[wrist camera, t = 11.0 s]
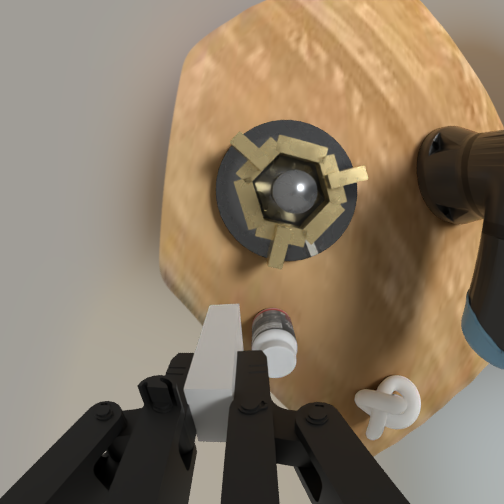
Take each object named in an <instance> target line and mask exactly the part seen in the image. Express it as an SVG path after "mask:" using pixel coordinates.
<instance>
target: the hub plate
mask: <svg viewBox="0 0 504 504" xmlns="http://www.w3.org/2000/svg"><path fill="white" fill-rule="evenodd" d="M243 135H244V136H246V137H247V138H248V139H249V140H250V141H251V142H252V143H254V144H255V145H256V146H257V147H258V148H260V147H261V146H262V145H263V144H264V143H265V142H266V141H267V140H268V139H269V138H270V137H272V138H273V139H274V140H275V141H277V138H278V136H279V135H283V136H287V137H291V138H295V139H299V140H302V141H306V142H309V143H313V144H316V145H320V146H323V147H327V148H328V151H327V155H326V156H328V155H332V154H334V156H335V159H336V162H337V166H338V169H339V171H340V170H344V169H348V168H352V167H353V166H352V164H351V161H350V159H349V157H348V156H347V154H346V152H345V151H344V149H343V148H342V147H341V146H340V144H339V143H338V142H337V141H336V140H335V139H334V138H333V137H331V136H330V135H329V134H327V133H326V132H325V131H323V130H321V129H319V128H318V127H315V126H313V125H311V124H308V123H304V122H301V121H294V120H278V121H271V122H268V123H264V124H261V125H259V126H256V127H254V128H252V129H251V130H249V131H247V132H246V133H244V134H243ZM247 161H248V160H247V159H246V158H244V157H243V156H242V155H241V154H240V153H239V152H238V151H237V150H235V149H234V148H233V147H232V146H231V147H230V149H229V150H228V151H227V153H226V155H225V156H224V158H223V160H222V163H221V165H220V168H219V171H218V175H217V182H216V199H217V204H218V208H219V212H220V215H221V217H222V219H223V221H224V223H225V225H226V227H227V228H228V230H229V231H230V233H231V234H232V235H233V236H234V237H235V239H236V240H237V241H238V242H240V243H241V244H242V245H243V246H244V247H246V248H247V249H249V250H250V251H252V252H254V253H256V254H258V255H260V256H263V257H265V258H266V257H267V253H268V249H269V245H270V241H271V240H270V239H266V238H261V237H257V236H255V229H256V228H255V229H251V230H248V226H247V223H246V220H245V217H244V214H243V210H242V207H241V204H240V201H239V198H238V194H237V191H236V188H235V185H234V181H237V180H241V178H240V177H239V176H238V175H237V174H236V172H237V171H238V170H239V169H240V168H241V167H242V166H243V165H244V164H245V163H246V162H247ZM290 170H301V171H304V172H306V173H307V174H309V175H310V176H311V177H312V178H313V179H314V181H315V183H316V186H317V199H316V201H315V203H314V205H313V206H312V207H311V208H310V209H309V210H307V211H306V212H303V213H300V214H292V213H288V212H286V211H284V210H283V209H281V208H280V207H279V206H278V205H277V204H276V203H275V202H274V201H273V199H272V197H271V193H270V187H271V184H272V182H273V180H274V179H275V178H276V177H277V176H278V175H279V174H281V173H284V172H287V171H290ZM252 182H253V185H254V189H255V192H256V195H257V198H258V202H259V205H260V208H261V212H262V215H263V218H268V219H272V220H276V221H280V222H284V223H288V224H293V225H297V226H300V225H301V224H302V223H303V222H304V221H305V220H306V219H307V218H308V217H309V216H310V215H311V213H312V212H313V211H314V210H315V209H316V208H317V207H318V206H319V205H320V204H321V203H322V202H323V201H324V196H323V192H322V189H321V185H320V181H319V178H318V174H317V171H316V168H315V164H312V163H308V162H304V161H301V160H297V159H293V158H289V157H285V156H281V155H278V156H277V157H276V158H275V159H274V160H273V161H272V162H271V163H270V164H269V165H268V166H267V167H266V168H265V169H264V170H263V171H262V172H261V173H260V174H259V175H258V176H257V177H256V178H255V179H254V180H253V181H252ZM343 188H344V192H345V196H346V199H347V202H345V203H341V204H340V205H341V206H342V207H343V208H344V209H345V210H344V212H343V213H342V214H341V215H340V216H339V217H338V218H337V219H336V220H335V221H334V222H333V223H332V224H331V225H330V226H329V227H328V228H327V229H326V230H325V231H324V232H323V233H322V235H321V236H320V237H319V238H318V239H317V240H316V241H315V242H314V243H313V244H312V245H311V244H310V243H309V242H308V241H307V240H305V243H304V247H300V246H295V245H291V244H288V248H287V251H286V255H285V259H284V261H296V260H302V259H306V258H309V257H312V256H314V255H317V254H319V253H321V252H323V251H324V250H326V249H327V248H329V247H330V246H331V245H332V244H334V243H335V242H336V241H337V240H338V239H339V238H340V237H341V235H342V234H343V233H344V231H345V230H346V228H347V227H348V225H349V223H350V221H351V219H352V216H353V214H354V210H355V206H356V201H357V182H356V183H352V184H348V185H344V186H343Z"/></svg>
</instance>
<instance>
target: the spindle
mask: <svg viewBox="0 0 504 504" xmlns="http://www.w3.org/2000/svg"><path fill="white" fill-rule="evenodd" d="M270 193H271V197H272V199H273V201H274V202H275V203H276V204H277V205H278V206H279V207H280V208H281V209H283V210H284V211H286V212H288V213H292V214H300V213H303V212H306V211H307V210H309V209H310V208H311V207H312V206H313V205H314V203H315V201H316V199H317V186H316V183H315V181H314V179H313V178H312V177H311V176H310V175H309V174H307V173H306V172H304V171H301V170H290V171H287V172H284V173H281V174H279V175H278V176H277V177H276V178H275V179H274V180H273V182H272V184H271V187H270Z"/></svg>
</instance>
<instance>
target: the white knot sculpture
mask: <svg viewBox="0 0 504 504" xmlns="http://www.w3.org/2000/svg"><path fill="white" fill-rule="evenodd" d="M393 391H398V392H399V393H400V394H401V395H402V396H403V397H401V396H399V395H396V394H392V393H393ZM354 400H355V403H356V405H357V406H358V407H359V408H361V409H362V410H363V411H364V412H366V413H367V414H369V415H370V420H369V425H368V427H367V430H366V436H367V438H368V439H370V440H376V439H378V438H379V437H380V436H381V435H382V433H383V430H384V427H385V426H386V427H388V428H392V429H403V428H406V427H408V426H410V425H411V424H413V423H414V421H415V420H416V419H417V417H418V415H419V412H420V408H421V401H420V395H419V392H418V390H417V388H416V386H415V385H414V384H413V383H412V382H411V381H410V380H409V379H408V378H406V377H404V376H400V375H393V376H389V377H387V378H386V379H384V380H383V381H382V382H381V383H380V385H379V386H378V388H377V390H376V391H375V390H369V389H363V390H360V391H358V392H357V393H356V395H355V399H354ZM401 413H402V414H401Z"/></svg>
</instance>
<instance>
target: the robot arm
mask: <svg viewBox="0 0 504 504" xmlns="http://www.w3.org/2000/svg"><path fill="white" fill-rule="evenodd" d="M417 177H418V183H419V187H420V191H421V194H422V196H423V199H424V201H425V202H426V204H427V206H428V207H429V209H430V210H431V211H432V212H433V213H434V214H435V215H436V216H437V217H439V218H440V219H442V220H444V221H447V222H451V223H455V224H466V223H470V222H474V221H477V220H481V219H484V221H483V228H482V233H481V239H480V245H479V250H478V255H477V260H476V265H475V269H474V273H473V278H472V282H471V285H470V289H469V290H468V292H467V295H466V304H465V308H464V312H463V316H462V320H461V327H462V331H463V334H464V336H465V339H466V341H467V342H468V344H469V345H470V346H471V348H472V349H473V350H474V351H475V352H476V353H477V354H478V355H479V356H480V357H482V358H483V359H484V360H485V361H487V362H488V363H490V364H492V365H493V366H496V367H498V368H500V369H504V130H499V131H492V132H485V133H477V132H474V131H471V130H468V129H465V128H462V127H458V126H447V127H442V128H438V129H436V130H434V131H432V132H431V133H430V134H429V135H428V136H427V137H426V138H425V140H424V141H423V143H422V145H421V148H420V151H419V155H418V161H417ZM138 389H139V391H140V394H141V397H142V399H143V402H144V406H143V408H139V409H134V410H125V411H122V409H121V408H120V406H119V405H118V404H116V403H115V402H110V401H105V402H99V403H97V404H95V405H94V406H92V407H91V408H90V409H89V410H88V411H87V412H86V413H85V414H84V415H83V416H82V417H81V418H80V419H79V420H78V421H77V422H76V423H75V424H74V425H73V426H72V427H71V428H70V429H69V430H68V431H67V432H66V433H65V434H64V435H63V436H62V437H61V438H60V439H59V440H58V441H57V442H56V443H55V444H54V445H53V446H52V447H51V448H50V449H49V450H48V451H47V452H46V453H45V454H44V455H43V456H42V457H41V458H40V459H39V460H38V461H37V462H36V463H35V464H34V465H33V466H32V467H31V468H30V469H29V470H28V471H27V472H26V473H25V474H24V475H23V476H22V477H21V478H20V479H19V480H18V481H17V482H16V483H15V484H14V485H13V486H12V487H11V488H10V489H9V490H8V491H7V492H6V493H5V494H4V495H3V496H2V497H1V498H0V504H188V501H189V495H190V489H191V483H192V477H193V471H194V465H195V460H196V454H197V450H196V445H195V443H194V442H195V436H196V434H197V437H198V441H206V442H226V449H225V459H224V471H223V483H222V494H221V504H279V491H278V479H277V466H276V463H277V464H283V465H289V466H294V468H295V471H296V473H297V475H298V477H299V479H300V481H301V483H302V485H303V487H304V489H305V491H306V493H307V495H308V497H309V499H310V501H311V503H312V504H410V503H409V502H408V500H407V499H406V498H405V497H404V495H403V494H402V493H401V492H400V490H399V489H398V488H397V487H396V486H395V484H394V483H393V482H392V480H391V479H390V478H389V477H388V475H387V474H386V473H385V472H384V470H383V469H382V468H381V466H380V465H379V464H378V463H377V461H376V460H375V459H374V457H373V456H372V455H371V454H370V452H369V451H368V450H367V448H366V447H365V446H364V445H363V443H362V442H361V441H360V439H359V438H358V437H357V435H356V434H355V433H354V431H353V430H352V429H351V427H350V426H349V425H348V424H347V422H346V421H345V420H344V418H343V417H342V416H341V414H340V413H339V412H338V410H337V409H336V408H334V407H333V406H332V405H330V404H327V403H322V402H314V403H308V404H306V405H304V406H302V407H301V408H300V409H299V410H298V411H293V410H287V409H283V408H281V407H279V406H277V405H276V404H275V403H274V402H273V401H272V400H271V396H270V386H269V374H268V363H267V356H266V355H265V354H264V352H263V351H262V350H251V351H243V340H242V329H241V318H240V307H239V304H223V305H210V306H209V309H208V312H207V315H206V318H205V321H204V325H203V328H202V331H201V334H200V337H199V340H198V344H197V347H196V350H195V353H178V354H177V355H176V356H175V357H174V358H173V359H172V360H171V362H170V365H169V367H168V369H167V372H166V375H165V376H163V375H158V376H152V377H148V378H146V379H144V380H143V381H141V382H140V384H139V385H138ZM105 451H107V452H106V453H105V454H103V453H104V452H105Z"/></svg>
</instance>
